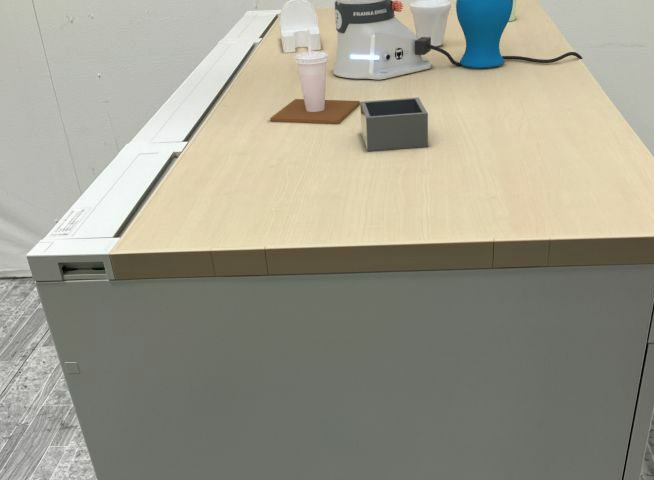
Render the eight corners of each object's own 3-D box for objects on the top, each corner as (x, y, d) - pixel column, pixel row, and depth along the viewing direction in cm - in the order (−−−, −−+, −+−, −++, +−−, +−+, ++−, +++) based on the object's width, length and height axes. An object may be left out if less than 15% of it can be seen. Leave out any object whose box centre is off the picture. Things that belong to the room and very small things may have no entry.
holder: (361, 133, 151) (360, 101, 148) (418, 129, 152) (418, 97, 148) (367, 151, 143) (366, 117, 140) (427, 146, 144) (427, 113, 140)
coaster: (295, 101, 171) (295, 98, 170) (359, 104, 167) (359, 100, 167) (270, 121, 161) (270, 118, 160) (338, 123, 157) (338, 120, 157)
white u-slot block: (316, 35, 222) (313, -9, 216) (321, 49, 208) (318, 3, 202) (281, 38, 222) (276, -6, 215) (283, 52, 208) (279, 6, 201)
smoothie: (294, 113, 162) (287, 32, 153) (305, 104, 167) (299, 26, 158) (325, 114, 160) (319, 33, 151) (335, 105, 165) (330, 26, 156)
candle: (496, 21, 225) (497, -14, 220) (496, 18, 229) (498, -17, 224) (514, 21, 224) (516, -14, 219) (515, 17, 228) (517, -17, 223)
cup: (456, 42, 208) (457, -1, 202) (442, 51, 201) (442, 7, 195) (419, 40, 211) (419, -2, 205) (404, 49, 204) (403, 6, 198)
